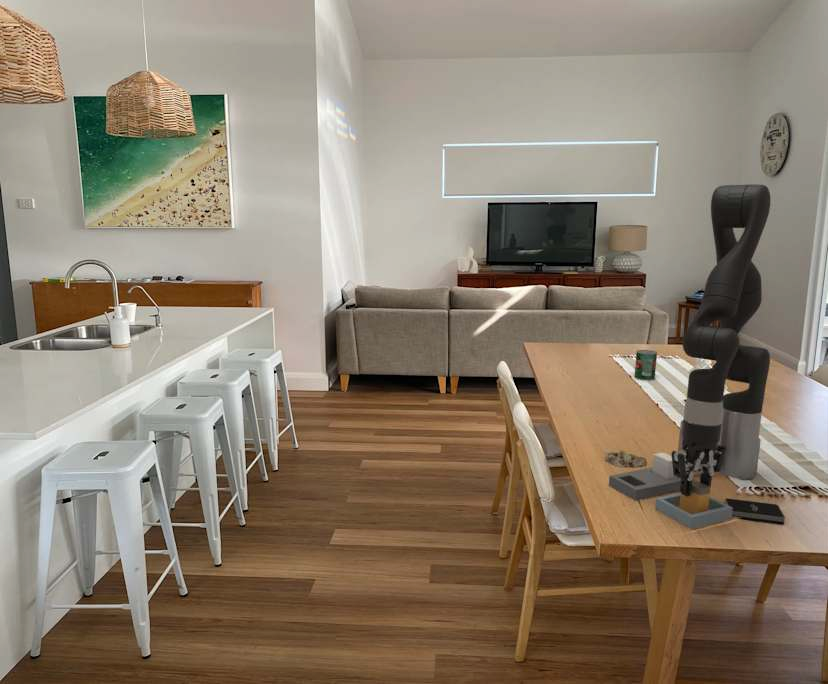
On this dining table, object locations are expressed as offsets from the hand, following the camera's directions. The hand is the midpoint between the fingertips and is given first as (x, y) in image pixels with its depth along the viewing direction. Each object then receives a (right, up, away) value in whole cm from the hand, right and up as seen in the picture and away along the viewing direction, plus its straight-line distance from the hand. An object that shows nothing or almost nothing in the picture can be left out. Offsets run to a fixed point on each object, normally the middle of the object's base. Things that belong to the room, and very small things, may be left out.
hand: (694, 492), depth 140 cm
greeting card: (+9, -1, +25) cm, 26 cm away
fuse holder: (-5, -3, +14) cm, 15 cm away
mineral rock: (-5, 0, +30) cm, 30 cm away
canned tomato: (+32, +18, +120) cm, 126 cm away
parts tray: (0, -5, +1) cm, 5 cm away
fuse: (0, -2, +16) cm, 16 cm away
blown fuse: (0, -5, +1) cm, 5 cm away
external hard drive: (+14, -6, +2) cm, 15 cm away
